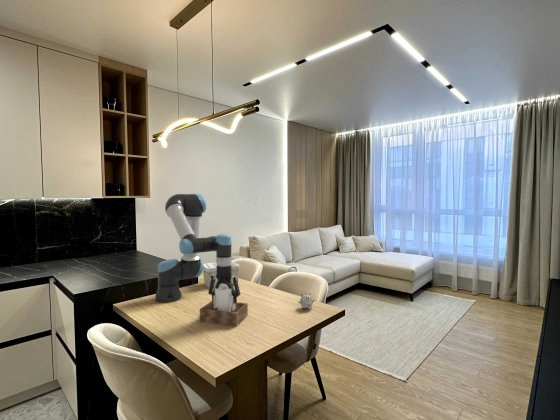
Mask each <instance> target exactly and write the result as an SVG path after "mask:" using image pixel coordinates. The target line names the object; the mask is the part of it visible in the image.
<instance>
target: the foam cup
mask: <svg viewBox="0 0 560 420" xmlns="http://www.w3.org/2000/svg"><path fill="white" fill-rule="evenodd" d="M215 295H216V301H217V308H218V310H220V311H230V312H231V306H232V297H233V296H232V292H231V289H229V287H228V286H227V285H220V286H219V288H218V289H216V287H215Z"/></svg>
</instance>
